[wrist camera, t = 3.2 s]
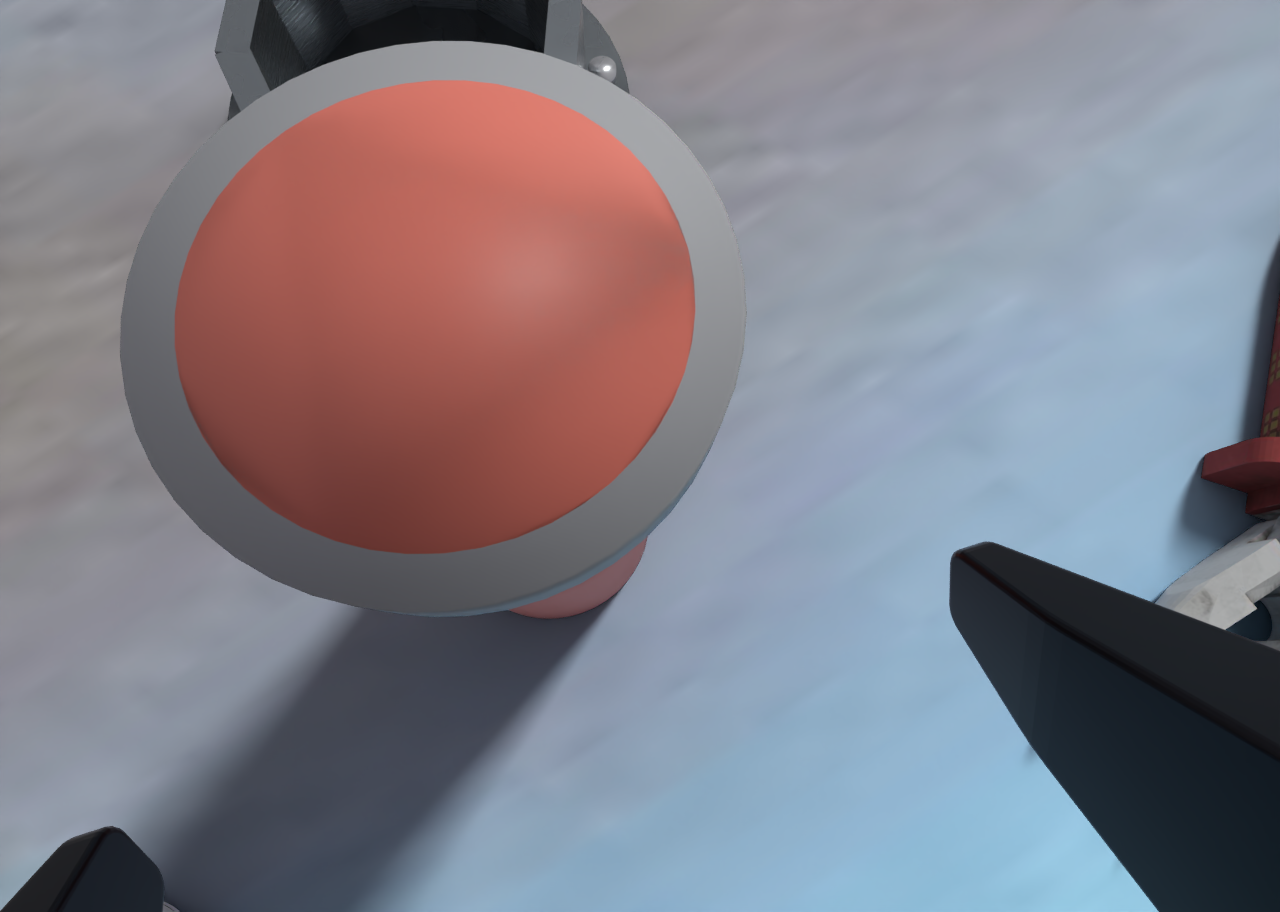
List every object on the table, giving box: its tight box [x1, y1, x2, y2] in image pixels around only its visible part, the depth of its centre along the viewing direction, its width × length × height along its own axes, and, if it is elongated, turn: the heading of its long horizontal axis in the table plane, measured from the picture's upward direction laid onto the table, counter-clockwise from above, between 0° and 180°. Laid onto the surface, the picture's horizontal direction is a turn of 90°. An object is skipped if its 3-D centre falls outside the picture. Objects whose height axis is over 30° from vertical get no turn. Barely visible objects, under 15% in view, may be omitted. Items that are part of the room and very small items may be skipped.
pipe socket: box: [215, 0, 629, 121], centre depth 20 cm, size 11×11×4 cm
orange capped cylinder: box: [120, 41, 747, 619], centre depth 13 cm, size 6×6×12 cm
